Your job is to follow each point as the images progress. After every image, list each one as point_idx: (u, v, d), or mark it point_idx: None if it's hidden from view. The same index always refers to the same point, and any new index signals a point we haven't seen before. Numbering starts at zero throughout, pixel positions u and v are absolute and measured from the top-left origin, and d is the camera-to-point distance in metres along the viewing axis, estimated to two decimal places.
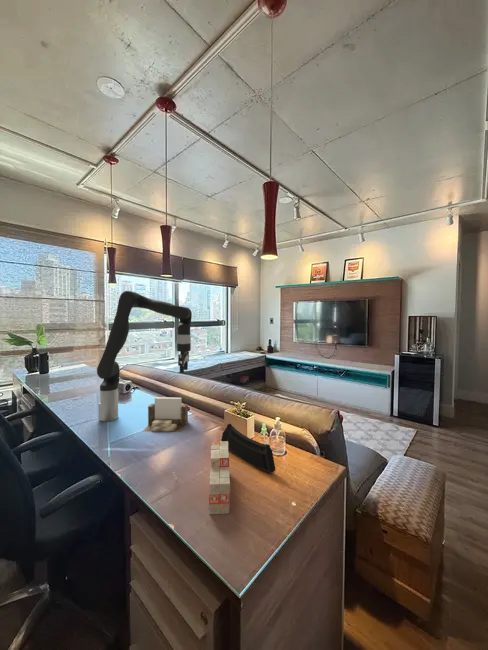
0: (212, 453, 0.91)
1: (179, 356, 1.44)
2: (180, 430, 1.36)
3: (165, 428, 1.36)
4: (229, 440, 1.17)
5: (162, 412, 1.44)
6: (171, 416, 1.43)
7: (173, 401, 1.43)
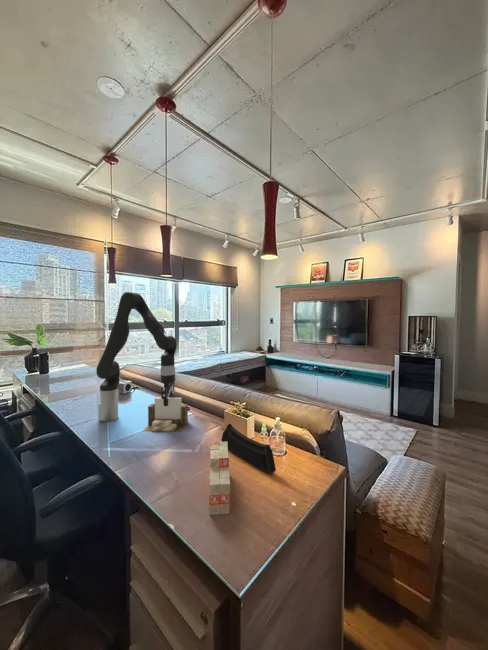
0: (212, 453, 0.91)
1: (162, 389, 1.37)
2: (180, 430, 1.36)
3: (165, 428, 1.36)
4: (229, 441, 1.17)
5: (162, 412, 1.44)
6: (171, 416, 1.43)
7: (173, 401, 1.43)
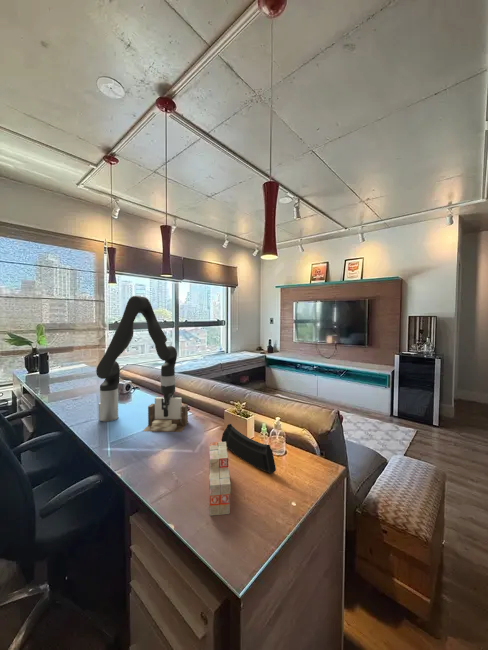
0: (211, 454, 0.91)
1: (162, 400, 1.37)
2: (180, 430, 1.36)
3: (165, 428, 1.36)
4: (229, 441, 1.16)
5: (162, 412, 1.44)
6: (171, 416, 1.43)
7: (173, 401, 1.43)
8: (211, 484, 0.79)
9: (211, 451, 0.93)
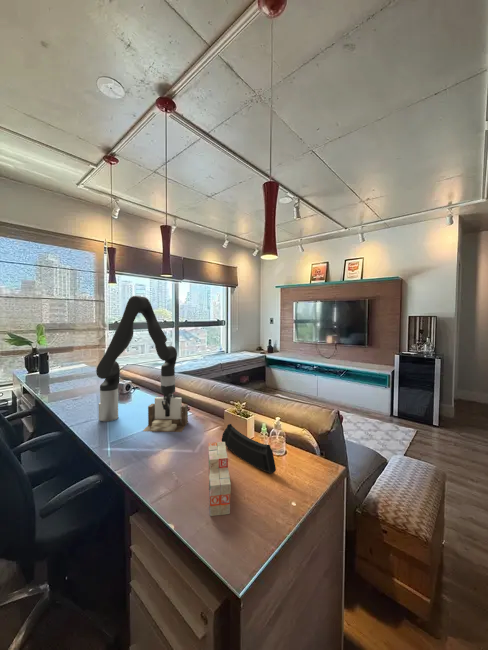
0: (210, 454, 0.91)
1: (163, 403, 1.38)
2: (180, 430, 1.36)
3: (165, 428, 1.36)
4: (229, 441, 1.16)
5: (162, 412, 1.44)
6: (171, 416, 1.43)
7: (173, 401, 1.43)
8: (211, 484, 0.79)
9: (210, 451, 0.93)
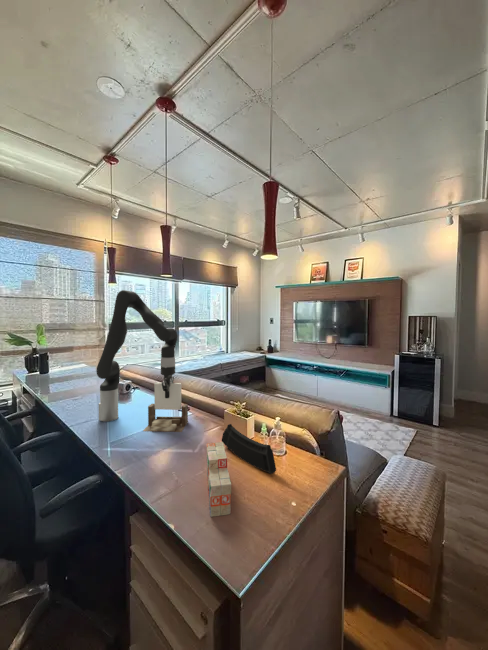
0: (209, 455, 0.90)
1: (163, 384, 1.38)
2: (180, 430, 1.36)
3: (165, 428, 1.36)
4: (229, 441, 1.16)
5: (162, 398, 1.43)
6: (170, 401, 1.43)
7: (173, 386, 1.43)
8: (212, 485, 0.79)
9: (209, 452, 0.92)
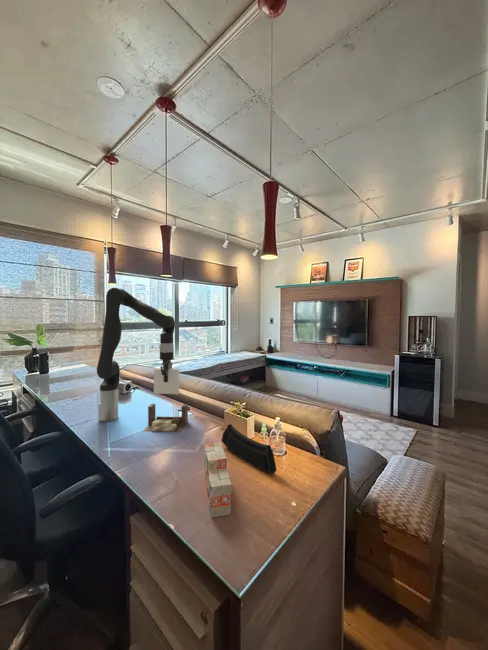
0: (208, 455, 0.90)
1: (161, 368, 1.45)
2: (180, 430, 1.36)
3: (165, 428, 1.36)
4: (229, 441, 1.16)
5: (161, 382, 1.51)
6: (169, 385, 1.51)
7: (171, 371, 1.50)
8: (212, 486, 0.78)
9: (208, 452, 0.92)
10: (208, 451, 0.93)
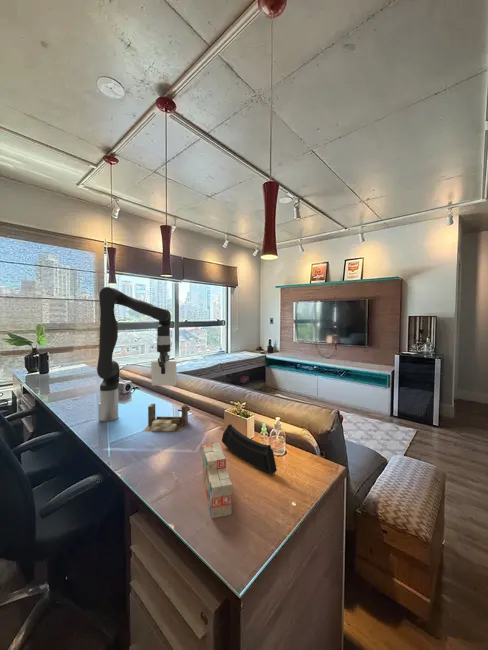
0: (207, 456, 0.89)
1: (159, 360, 1.49)
2: (180, 430, 1.36)
3: (165, 428, 1.36)
4: (229, 441, 1.16)
5: (158, 374, 1.54)
6: (166, 377, 1.54)
7: (168, 363, 1.54)
8: (213, 486, 0.78)
9: (207, 453, 0.91)
10: (207, 452, 0.92)
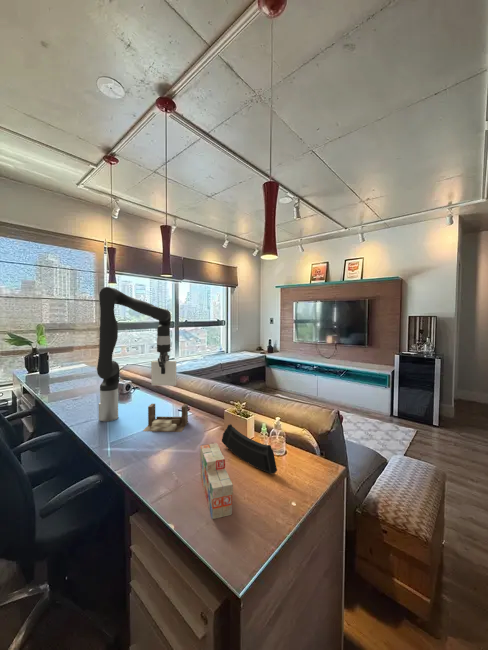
0: (206, 457, 0.89)
1: (159, 360, 1.49)
2: (180, 430, 1.36)
3: (165, 428, 1.36)
4: (229, 441, 1.16)
5: (158, 374, 1.54)
6: (166, 377, 1.54)
7: (168, 363, 1.54)
8: (213, 487, 0.78)
9: (205, 454, 0.91)
10: (205, 452, 0.92)
